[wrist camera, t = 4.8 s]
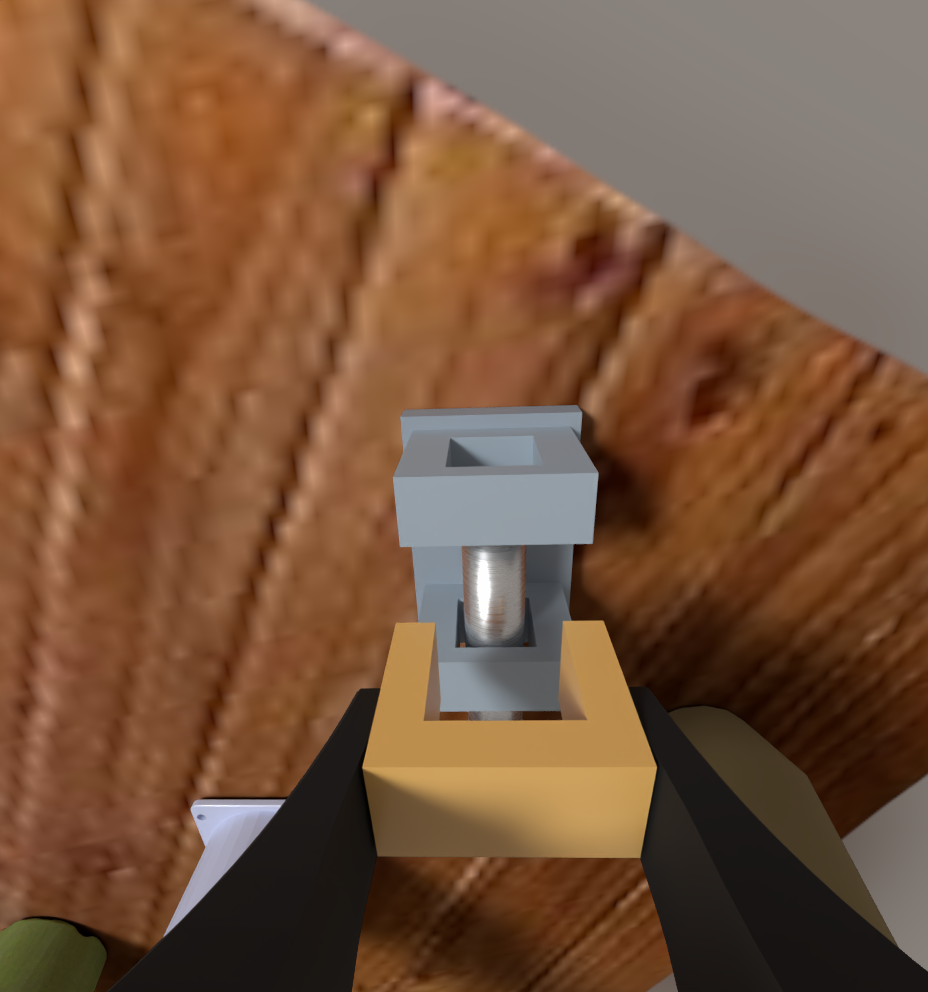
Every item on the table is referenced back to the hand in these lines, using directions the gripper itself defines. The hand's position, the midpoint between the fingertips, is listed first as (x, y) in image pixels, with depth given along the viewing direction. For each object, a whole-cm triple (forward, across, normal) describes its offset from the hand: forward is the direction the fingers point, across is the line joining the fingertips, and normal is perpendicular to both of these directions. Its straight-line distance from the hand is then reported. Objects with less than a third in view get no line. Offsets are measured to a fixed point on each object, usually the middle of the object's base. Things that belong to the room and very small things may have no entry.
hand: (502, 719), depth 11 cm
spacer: (+2, 0, 0) cm, 2 cm away
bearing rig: (+10, 0, 0) cm, 10 cm away
